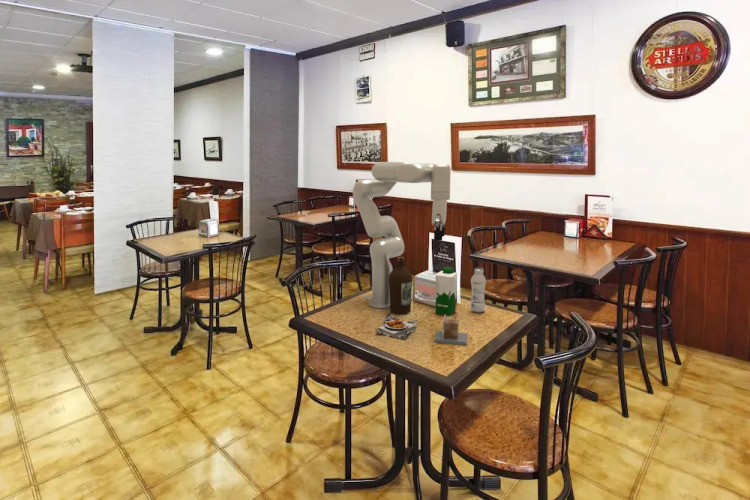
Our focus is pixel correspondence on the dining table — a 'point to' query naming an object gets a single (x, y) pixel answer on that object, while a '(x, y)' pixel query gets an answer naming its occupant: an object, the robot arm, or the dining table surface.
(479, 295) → the plastic bottle
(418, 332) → the dining table surface
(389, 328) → the meal
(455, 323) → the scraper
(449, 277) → the milk carton
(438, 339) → the slate board
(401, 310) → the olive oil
